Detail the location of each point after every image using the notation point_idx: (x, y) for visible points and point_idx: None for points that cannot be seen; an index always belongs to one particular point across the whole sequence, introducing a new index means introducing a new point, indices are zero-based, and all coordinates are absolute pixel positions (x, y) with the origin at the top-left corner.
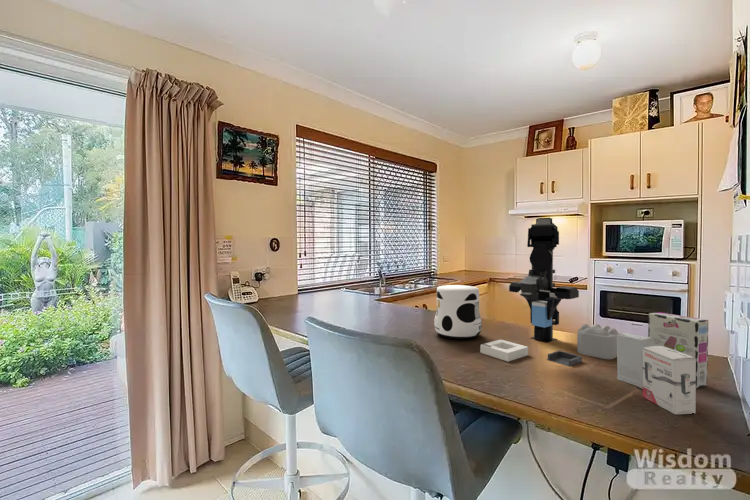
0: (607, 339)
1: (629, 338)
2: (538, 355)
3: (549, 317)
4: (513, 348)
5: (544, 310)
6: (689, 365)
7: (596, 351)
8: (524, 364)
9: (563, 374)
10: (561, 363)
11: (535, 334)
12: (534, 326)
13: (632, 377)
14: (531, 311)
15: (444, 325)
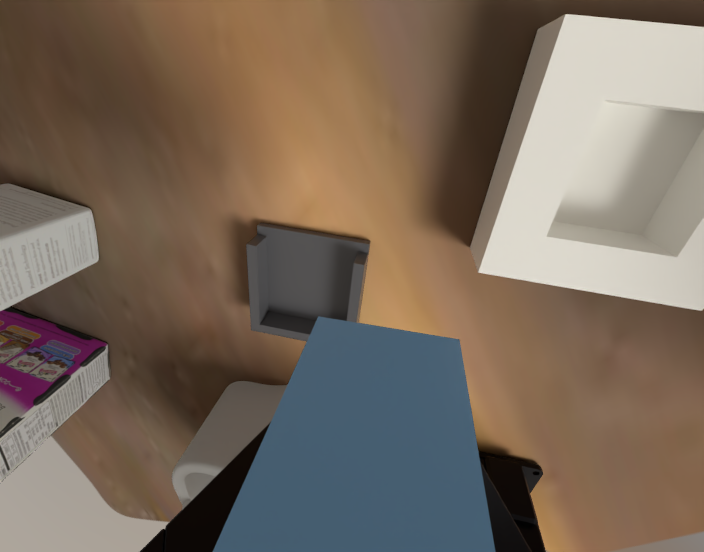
0: (183, 455)
1: None
2: (433, 296)
3: (262, 433)
4: (555, 172)
5: (244, 500)
6: None
7: (247, 405)
8: (438, 102)
9: (232, 115)
10: (298, 238)
11: (520, 484)
12: (540, 533)
13: (5, 199)
14: (509, 519)
15: None
